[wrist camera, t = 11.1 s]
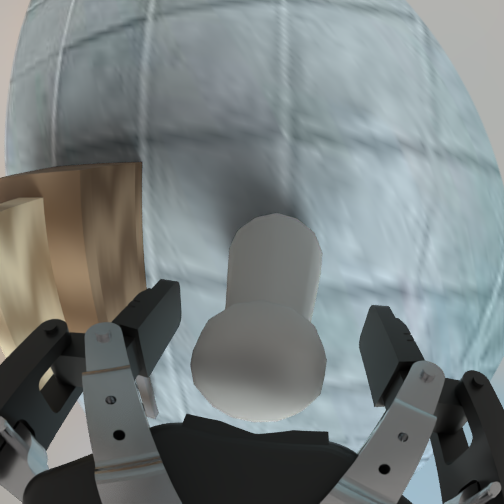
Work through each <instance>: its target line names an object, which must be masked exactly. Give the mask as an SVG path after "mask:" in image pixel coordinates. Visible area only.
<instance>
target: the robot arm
mask: <svg viewBox="0 0 504 504" xmlns="http://www.w3.org/2000/svg"><path fill="white" fill-rule="evenodd" d="M180 321H181V299H180V285H179V282H177V281H171V280H164V279H161V280H159V281H158V283H157V284H156V285H155V286H154V287H153V288H152V289H150V288H148V289H146V290H144V291H142V292H140V293H138V295H137V296H136V297H135V298H134V299H133V301H131V302H130V303H129V304H128V306H126V307H125V308H124V309H123V310H122V311H121V312H120V313H119V314H118V315H117V316H116V318H115V319H114V320H113V321H112V322H102V323H98V324H95V325H93V326H91V327H90V328H89V329H88V330H87V331H86V333H76V332H69V329H68V326H67V323H66V322H65V321H63V320H61V319H51V320H47V321H45V322H43V323H41V324H40V325H39V326H38V327H37V328H36V329H35V330H34V331H33V332H32V333H31V334H30V335H29V336H28V337H27V338H26V339H25V340H24V341H23V342H22V343H21V344H20V345H19V346H18V347H17V348H16V349H15V350H14V351H13V352H12V353H11V354H10V355H9V356H8V357H7V358H6V359H5V361H3V363H2V364H1V365H0V485H1V486H3V487H4V488H5V489H7V490H8V491H9V492H10V493H11V494H12V495H14V496H15V497H16V498H17V499H19V500H20V501H21V502H22V503H23V504H412V503H411V502H410V501H409V500H408V499H407V498H405V497H404V496H403V495H402V494H403V492H404V490H405V488H406V487H407V485H408V483H409V481H410V479H411V477H412V476H413V474H414V472H415V470H416V468H417V466H418V463H419V461H420V459H421V457H422V455H423V453H424V450H425V448H426V446H427V444H428V441H429V439H430V440H431V444H432V448H433V453H434V457H435V462H436V466H437V471H438V477H439V483H440V489H441V496H442V502H443V504H504V409H503V407H502V405H501V403H500V401H499V399H498V397H497V395H496V393H495V391H494V389H493V387H492V386H491V384H490V382H489V380H488V379H487V377H486V376H485V375H483V374H482V373H480V372H478V371H474V370H470V371H467V372H465V374H464V375H463V377H462V378H461V380H454V379H449V378H445V375H444V373H443V371H442V370H441V368H440V367H438V366H437V365H436V364H434V363H432V362H429V361H425V360H424V358H423V356H422V354H421V352H420V350H419V348H418V346H417V344H416V342H415V341H414V339H413V337H412V335H410V334H411V333H410V331H409V329H408V328H407V326H406V325H405V324H404V323H403V322H402V321H401V320H400V319H399V318H395V316H394V314H393V313H392V311H391V309H390V307H389V306H379V305H372V306H371V307H370V309H369V311H368V314H367V318H366V321H365V324H364V327H363V330H362V333H361V336H360V341H359V348H360V352H361V356H362V360H363V363H364V367H365V371H366V375H367V378H368V382H369V386H370V390H371V395H372V399H373V403H374V407H384V406H385V408H386V411H385V413H384V414H383V416H382V417H381V419H380V421H379V422H378V424H377V425H376V427H375V428H374V430H373V431H372V433H371V434H370V436H369V437H368V439H367V440H366V441H365V443H364V444H363V446H362V447H361V448H360V450H359V451H358V452H357V454H356V453H355V452H354V451H352V450H350V449H349V448H347V447H344V446H342V445H340V444H337V443H334V442H330V441H329V437H328V432H320V431H297V430H292V431H285V432H276V433H266V434H254V433H251V432H248V431H245V430H242V429H240V428H237V427H234V426H232V425H229V424H227V423H224V422H222V421H218V420H213V419H208V418H203V417H198V416H194V415H190V414H186V416H185V419H184V421H183V423H167V424H161V425H157V426H153V427H151V428H150V426H149V423H148V420H147V417H146V414H145V412H144V409H143V405H142V402H141V399H140V396H139V393H138V390H137V386H136V383H135V379H136V377H137V376H138V375H140V376H143V377H147V378H149V376H150V374H151V373H152V371H153V369H154V367H155V366H156V364H157V362H158V361H159V359H160V357H161V356H162V354H163V352H164V350H165V349H166V347H167V345H168V344H169V342H170V340H171V339H172V337H173V335H174V334H175V332H176V330H177V329H178V327H179V325H180ZM50 367H51V369H52V372H53V375H52V376H51V377H50V379H49V380H48V381H47V382H46V384H45V385H44V386H43V388H42V389H41V390H40V389H39V382H40V380H41V378H42V377H43V375H44V374H45V373H46V372H47V370H48V369H49V368H50ZM82 392H83V395H84V404H85V412H86V419H87V425H88V431H89V437H90V442H91V447H92V452H93V454H90V455H88V456H85V457H83V458H80V459H77V460H75V461H72V462H69V463H67V464H64V465H61V466H58V467H55V468H52V469H49V468H48V465H47V453H46V450H47V449H48V447H49V445H50V443H51V442H52V440H53V438H54V437H55V435H56V433H57V432H58V430H59V428H60V427H61V425H62V423H63V422H64V420H65V419H66V417H67V415H68V414H69V412H70V410H71V409H72V407H73V406H74V404H75V403H76V401H77V400H78V398H79V396H80V395H81V393H82ZM467 421H468V423H469V426H470V429H471V432H472V436H473V439H472V443H471V445H470V447H469V446H468V443H467V440H466V437H465V434H464V431H463V428H462V427H463V426H464V424H465V423H466V422H467Z"/></svg>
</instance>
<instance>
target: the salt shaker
mask: <svg viewBox="0 0 504 504" xmlns="http://www.w3.org/2000/svg"><path fill="white" fill-rule="evenodd" d="M321 265H322V250H321V247H320V245H319V242H318V240H317V237H316V235H315V233H314V232H313V231H312V230H311V229H309V228H308V227H307V226H306V225H304V224H303V223H302V222H301V221H300V220H298V219H297V218H293V217H290V216H286V215H283V214H279V213H274V214H269V215H264V216H260V217H256V218H254V219H252V220H251V221H250V222H248V223H247V224H246V225H244V226H243V227H242V228H240V229H239V230H238V231H237V233H236V235H235V237H234V240H233V242H232V244H231V246H230V248H229V260H228V276H227V292H226V307H225V310H224V311H222V312H220V313H219V314H217V315H215V316H214V317H212V318H211V319H209V320H208V322H207V323H206V325H205V327H204V328H203V330H202V332H201V334H200V337H199V339H198V341H197V343H196V345H195V347H194V349H193V353H192V358H191V364H190V365H191V371H192V377H193V382H194V385H195V386H196V387H197V389H198V390H199V391H200V392H201V394H202V395H203V396H204V397H205V398H206V399H207V400H208V402H209V403H210V404H211V405H212V406H213V407H214V408H216V409H218V410H220V411H221V412H223V413H225V414H227V415H229V416H230V417H233V418H237V419H241V420H246V421H251V422H275V421H279V420H282V419H285V418H288V417H290V416H293V415H296V414H298V413H299V412H301V411H303V410H304V409H305V408H307V407H308V406H309V405H310V404H311V403H312V402H313V401H314V400H315V399H316V398H317V397H318V396H319V395H320V394H321V390H322V385H323V381H324V376H325V369H326V362H327V359H326V355H325V351H324V347H323V345H322V342H321V340H320V337H319V335H318V333H317V330H316V328H315V326H314V325H313V324H312V323H311V320H312V315H313V310H314V305H315V300H316V296H317V290H318V285H319V280H320V275H321Z"/></svg>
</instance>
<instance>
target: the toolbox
mask: <svg viewBox="0 0 504 504" xmlns="http://www.w3.org/2000/svg"><path fill="white" fill-rule="evenodd" d="M90 168H91V188H92V212H93V226H94V237H95V247H96V255H97V263H98V270H99V277H100V283H101V289H102V295H103V300H104V305H105V310H106V315H107V319H108V322H112V321H113V320H114V319H115V318H116V316H117V315H118V314H119V313H120V312H121V311H122V310H123V309H124V308H125V307H126V306H128V304H129V303H130V302H131V301H133V299H134V298H135V297H136V296H137V295H138V293H140V292H142V291H144V290H146V289H147V288H146V278H145V266H144V251H143V232H142V162H120V163H97V164H81V165H68V166H57V167H51V168H45V169H39V170H34V171H29V172H24V173H19V174H15V175H20V174H29V173H38V172H48V171H59V170H73V169H90ZM10 176H13V175H10Z"/></svg>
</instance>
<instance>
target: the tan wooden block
mask: <svg viewBox="0 0 504 504" xmlns="http://www.w3.org/2000/svg"><path fill="white" fill-rule="evenodd" d="M51 319H61V320H63V321H65V322H66V323H67V326H68V329H69V332H76V333H86V331H87V330H88V329H89V328H90V327H91V326H93V325H95V324H98V323H102V322H108V319H107V315H106V310H105V305H104V300H103V295H102V289H101V283H100V277H99V270H98V263H97V255H96V247H95V237H94V226H93V212H92V188H91V168H90V169H73V170H59V171H48V172H38V173H29V174H20V175H13V176H6V177H2V178H0V346H1V349H2V351H3V353H4V355H5V357H6V358H7V357H8V356H9V355H10V354H11V353H12V352H13V351H14V350H15V349H16V348H17V347H18V346H19V345H20V344H21V343H22V342H23V341H24V340H25V339H26V338H27V337H28V336H29V335H30V334H31V333H32V332H33V331H34V330H35V329H36V328H37V327H38V326H39V325H40V324H41V323H43V322H45V321H47V320H51ZM52 375H53V372H52V369H51V367H50V368H49V369H48V370H47V372H46V373H45V374H44V375H43V377H42V378H41V380H40V382H39V389H40V390H41V389H42V388H43V386H44V385H45V384H46V382H47V381H48V380H49V379H50V377H51V376H52ZM136 382H137V385H138V389H139V392H140V395H141V399H142V402H143V403H142V405H143V409H144V412H145V414H146V416H147V417H150V418H153V419H156V417H157V415H158V413H159V412H158V409H157V405H156V401H155V397H154V394H153V390H152V385H151V381H150V377H149V378H147V377H143V376H140V375H138V376H137V377H136Z"/></svg>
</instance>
